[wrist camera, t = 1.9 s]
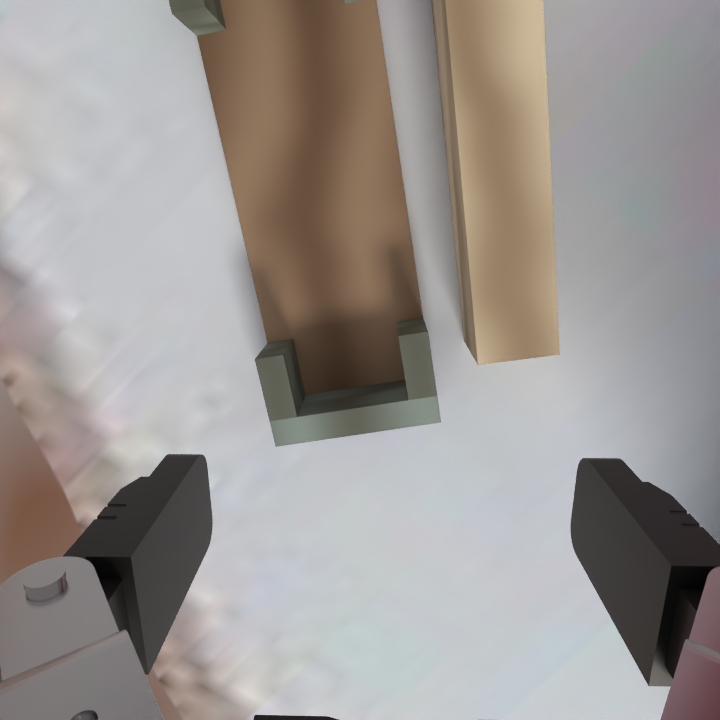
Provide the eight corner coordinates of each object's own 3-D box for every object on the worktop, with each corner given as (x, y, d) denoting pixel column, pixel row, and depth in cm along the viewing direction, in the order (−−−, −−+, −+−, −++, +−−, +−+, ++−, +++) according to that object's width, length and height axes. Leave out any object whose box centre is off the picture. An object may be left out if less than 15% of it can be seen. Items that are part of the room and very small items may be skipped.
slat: (508, -72, 26) (537, -132, 22) (532, 330, 32) (559, 354, 27) (425, -57, 27) (435, -112, 22) (463, 339, 32) (478, 365, 27)
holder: (358, -119, 26) (353, -174, 22) (433, 395, 33) (441, 422, 29) (174, -76, 27) (139, -122, 23) (287, 418, 34) (275, 446, 30)
